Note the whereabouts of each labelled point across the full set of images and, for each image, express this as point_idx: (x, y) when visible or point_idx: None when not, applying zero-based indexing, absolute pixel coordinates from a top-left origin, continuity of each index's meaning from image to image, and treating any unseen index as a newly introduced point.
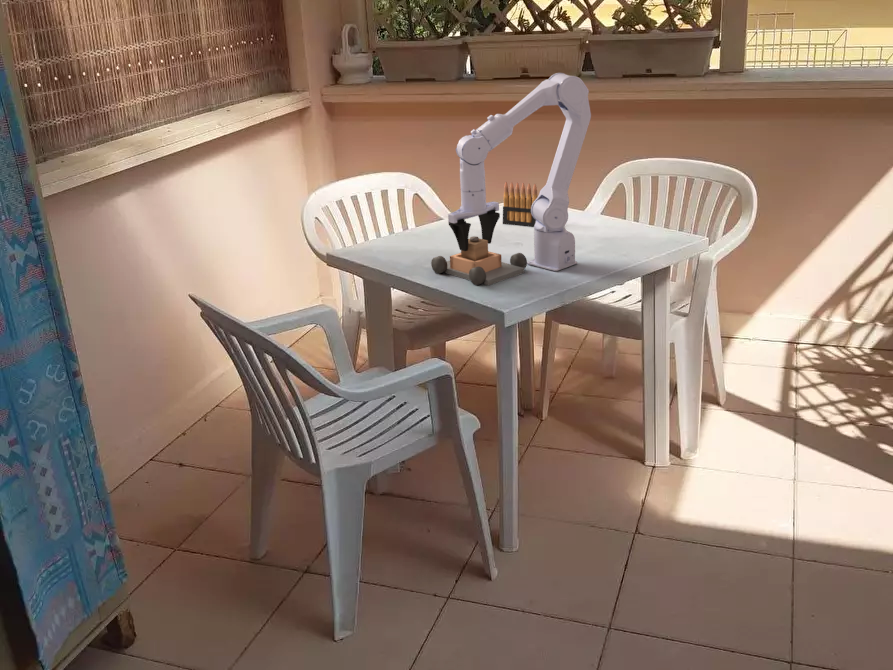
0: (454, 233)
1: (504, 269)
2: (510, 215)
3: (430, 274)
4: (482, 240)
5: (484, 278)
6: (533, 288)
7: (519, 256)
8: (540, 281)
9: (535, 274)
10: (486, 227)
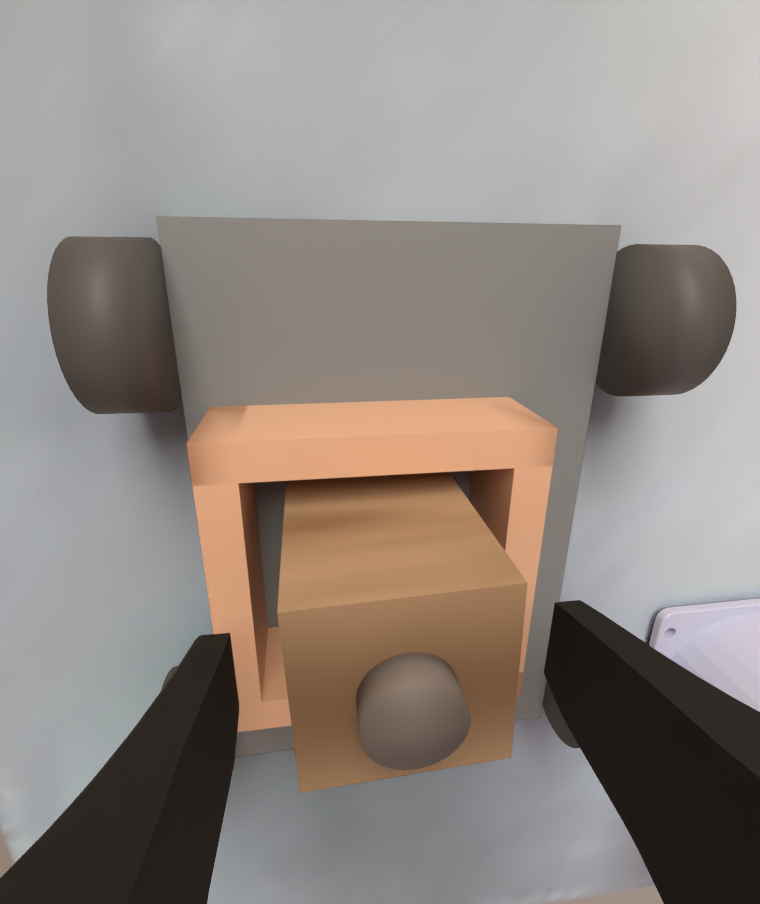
0: (43, 843)
1: None
2: None
3: None
4: (475, 731)
5: None
6: (369, 856)
7: (579, 747)
8: (465, 812)
9: (537, 738)
10: (670, 809)
